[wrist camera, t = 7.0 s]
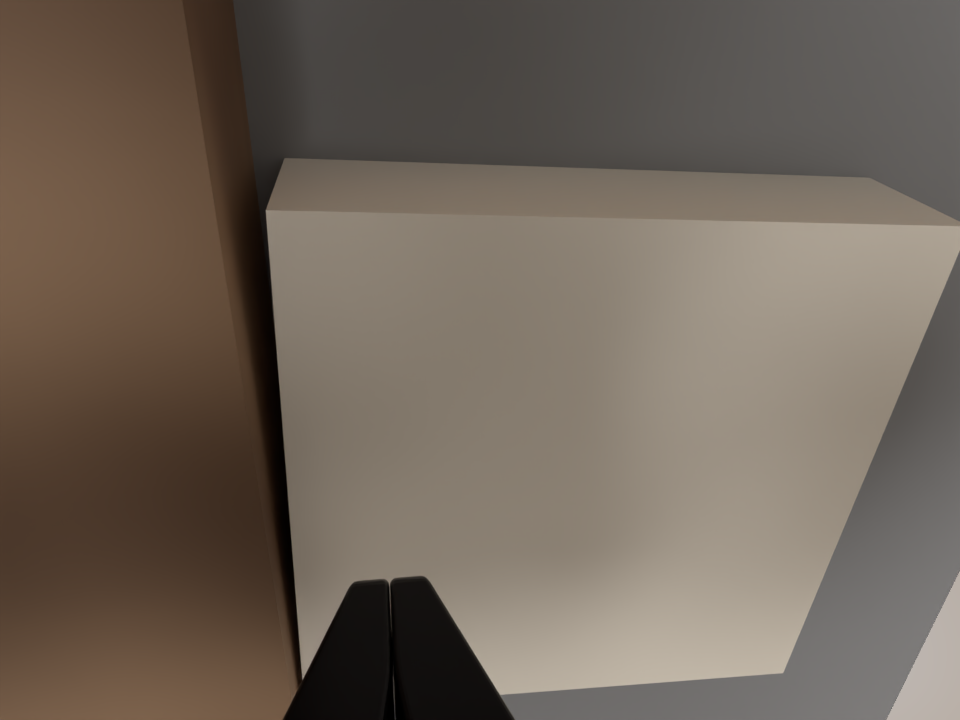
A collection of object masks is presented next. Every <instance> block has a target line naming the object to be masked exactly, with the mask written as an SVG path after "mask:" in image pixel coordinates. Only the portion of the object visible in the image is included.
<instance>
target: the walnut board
mask: <svg viewBox="0 0 960 720" xmlns="http://www.w3.org/2000/svg"><path fill="white" fill-rule="evenodd" d="M301 682H302V669H301V657H300V644H299V631H298V618H297V605H296V592H295V579H294V567H293V554H292V541H291V528H290V515H289V502H288V490H287V477H286V464H285V451H284V438H283V425H282V412H281V400H280V387H279V374H278V361H277V348H276V340H275V332H274V324H273V316H272V308H271V300H270V292H269V284H268V276H267V268H266V260H265V252H264V244H263V236H262V228H261V220H260V212H259V204H258V196H257V188H256V180H255V172H254V164H253V156H252V148H251V140H250V132H249V124H248V116H247V108H246V100H245V92H244V84H243V76H242V68H241V60H240V52H239V44H238V36H237V28H236V20H235V12H234V4H233V0H0V720H283V718H284V716H285V714H286V712H287V710H288V708H289V706H290V704H291V702H292V700H293V698H294V696H295V694H296V692H297V690H298V688H299V686H300V684H301Z"/></svg>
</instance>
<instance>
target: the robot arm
mask: <svg viewBox="0 0 960 720" xmlns="http://www.w3.org/2000/svg"><path fill="white" fill-rule="evenodd" d="M390 604H391V610H390ZM391 631H392V632H391ZM393 680H394V681H393ZM394 702H395V706H394ZM283 720H515V718H514V717H513V715H512V713H511V712H510V710H509V708H508V707H507V705H506V704H505V702H504V700H503V699H502V697H501V695H500V694H499V692H498V691H497V689H496V687H495V686H494V684H493V683H492V681H491V679H490V678H489V676H488V674H487V673H486V671H485V670H484V668H483V666H482V665H481V663H480V662H479V660H478V658H477V657H476V655H475V653H474V652H473V650H472V649H471V647H470V645H469V644H468V642H467V641H466V639H465V637H464V636H463V634H462V632H461V631H460V629H459V628H458V626H457V624H456V623H455V621H454V619H453V618H452V616H451V615H450V613H449V611H448V610H447V608H446V607H445V605H444V603H443V602H442V600H441V598H440V597H439V595H438V594H437V592H436V590H435V589H434V587H433V586H432V584H431V582H430V581H429V580H428V579H427V578H426V577H424V576H411V577H398V578H394V579H393V580H391V582H390V588H389V583H388V581H387V580H385V579H373V580H361V581H355V582H353V583H352V584H351V585H350V587H349V588H348V590H347V592H346V594H345V596H344V598H343V600H342V602H341V604H340V606H339V608H338V610H337V612H336V614H335V616H334V618H333V620H332V622H331V624H330V626H329V628H328V630H327V632H326V634H325V636H324V638H323V640H322V642H321V644H320V646H319V648H318V650H317V652H316V654H315V656H314V658H313V660H312V662H311V664H310V666H309V668H308V670H307V672H306V674H305V676H304V678H303V680H302V682H301V684H300V686H299V688H298V690H297V692H296V694H295V696H294V698H293V700H292V702H291V704H290V706H289V708H288V710H287V712H286V714H285V716H284V718H283Z"/></svg>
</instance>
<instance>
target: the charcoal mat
mask: <svg viewBox="0 0 960 720" xmlns="http://www.w3.org/2000/svg"><path fill="white" fill-rule="evenodd" d="M233 4H234V12H235V20H236V28H237V36H238V44H239V52H240V60H241V68H242V76H243V84H244V92H245V100H246V108H247V116H248V124H249V132H250V140H251V148H252V156H253V164H254V172H255V180H256V188H257V196H258V204H259V212H260V220H261V228H262V236H263V244H264V252H265V260H266V268H267V276H268V284H269V292H270V300H271V308H272V316H273V324H274V332H275V322H274V310H273V297H272V284H271V271H270V258H269V245H268V232H267V220H266V208H267V205H268V203H269V200H270V197H271V194H272V191H273V189H274V186H275V183H276V180H277V178H278V175H279V172H280V169H281V166H282V164H283V161H284V158H300V159H329V160H359V161H389V162H418V163H448V164H478V165H507V166H537V167H567V168H597V169H626V170H656V171H686V172H715V173H745V174H775V175H805V176H834V177H864V178H871V179H873V180H875V181H877V182H879V183H881V184H883V185H886V186H888V187H890V188H892V189H894V190H896V191H898V192H900V193H902V194H904V195H906V196H908V197H910V198H912V199H914V200H916V201H918V202H920V203H923V204H925V205H927V206H929V207H931V208H933V209H935V210H937V211H939V212H941V213H943V214H945V215H947V216H949V217H951V218H953V219H955V220H957V221H960V0H233ZM275 340H276V335H275ZM959 571H960V251H959V253H958V256H957V258H956V261H955V263H954V265H953V268H952V270H951V273H950V275H949V277H948V280H947V282H946V285H945V287H944V289H943V292H942V294H941V297H940V299H939V301H938V304H937V306H936V309H935V311H934V313H933V316H932V318H931V320H930V323H929V325H928V328H927V330H926V332H925V335H924V337H923V340H922V342H921V344H920V347H919V349H918V352H917V354H916V356H915V359H914V361H913V364H912V366H911V368H910V371H909V373H908V376H907V378H906V380H905V383H904V385H903V387H902V390H901V392H900V395H899V397H898V399H897V402H896V404H895V407H894V409H893V411H892V414H891V416H890V419H889V421H888V423H887V426H886V428H885V431H884V433H883V435H882V438H881V440H880V443H879V445H878V447H877V450H876V452H875V455H874V457H873V459H872V462H871V464H870V466H869V469H868V471H867V474H866V476H865V478H864V481H863V483H862V486H861V488H860V490H859V493H858V495H857V498H856V500H855V502H854V505H853V507H852V510H851V512H850V514H849V517H848V519H847V522H846V524H845V526H844V529H843V531H842V533H841V536H840V538H839V541H838V543H837V545H836V548H835V550H834V553H833V555H832V557H831V560H830V562H829V565H828V567H827V569H826V572H825V574H824V577H823V579H822V581H821V584H820V586H819V589H818V591H817V593H816V596H815V598H814V601H813V603H812V605H811V608H810V610H809V612H808V615H807V617H806V620H805V622H804V624H803V627H802V629H801V632H800V634H799V636H798V639H797V641H796V644H795V646H794V648H793V651H792V653H791V656H790V658H789V660H788V663H787V665H786V668H785V670H784V672H783V673H779V674H766V675H753V676H740V677H727V678H714V679H701V680H688V681H675V682H662V683H649V684H636V685H623V686H610V687H597V688H584V689H571V690H558V691H544V692H531V693H518V694H505V695H501V697H502V699H503V700H504V702H505V704H506V705H507V707H508V708H509V710H510V712H511V713H512V715H513V717H514V718H515V720H886V719H887V717H888V715H889V713H890V711H891V709H892V707H893V704H894V703H895V701H896V699H897V697H898V695H899V692H900V691H901V689H902V687H903V685H904V683H905V681H906V679H907V676H908V674H909V672H910V670H911V668H912V666H913V664H914V662H915V660H916V658H917V656H918V654H919V652H920V650H921V648H922V646H923V644H924V642H925V640H926V638H927V636H928V634H929V632H930V630H931V628H932V626H933V624H934V622H935V620H936V618H937V616H938V614H939V612H940V610H941V608H942V606H943V604H944V602H945V599H946V597H947V596H948V594H949V591H950V589H951V588H952V585H953V583H954V581H955V579H956V577H957V575H958V573H959ZM394 706H395V703H394Z"/></svg>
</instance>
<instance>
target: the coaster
mask: <svg viewBox="0 0 960 720" xmlns="http://www.w3.org/2000/svg"><path fill="white" fill-rule="evenodd" d="M266 220H267V232H268V245H269V258H270V271H271V284H272V297H273V310H274V322H275V335H276V348H277V361H278V374H279V387H280V400H281V412H282V425H283V438H284V451H285V464H286V477H287V490H288V502H289V515H290V528H291V541H292V554H293V567H294V579H295V592H296V605H297V618H298V631H299V644H300V657H301V669H302V680H303V678H304V676H305V674H306V672H307V670H308V668H309V666H310V664H311V662H312V660H313V658H314V656H315V654H316V652H317V650H318V648H319V646H320V644H321V642H322V640H323V638H324V636H325V634H326V632H327V630H328V628H329V626H330V624H331V622H332V620H333V618H334V616H335V614H336V612H337V610H338V608H339V606H340V604H341V602H342V600H343V598H344V596H345V594H346V592H347V590H348V588H349V587H350V585H351V584H352V583H353V582H355V581H361V580H373V579H385V580H387V581H388V583H389V588H390V582H391V580H393V579H394V578H398V577H411V576H424V577H426V578H427V579H428V580H429V581H430V582H431V584H432V586H433V587H434V589H435V590H436V592H437V594H438V595H439V597H440V598H441V600H442V602H443V603H444V605H445V607H446V608H447V610H448V611H449V613H450V615H451V616H452V618H453V619H454V621H455V623H456V624H457V626H458V628H459V629H460V631H461V632H462V634H463V636H464V637H465V639H466V641H467V642H468V644H469V645H470V647H471V649H472V650H473V652H474V653H475V655H476V657H477V658H478V660H479V662H480V663H481V665H482V666H483V668H484V670H485V671H486V673H487V674H488V676H489V678H490V679H491V681H492V683H493V684H494V686H495V687H496V689H497V691H498V692H499V694H500V695H505V694H518V693H531V692H544V691H558V690H571V689H584V688H597V687H610V686H623V685H636V684H649V683H662V682H675V681H688V680H701V679H714V678H727V677H740V676H753V675H766V674H779V673H783V672H784V670H785V668H786V665H787V663H788V660H789V658H790V656H791V653H792V651H793V648H794V646H795V644H796V641H797V639H798V636H799V634H800V632H801V629H802V627H803V624H804V622H805V620H806V617H807V615H808V612H809V610H810V608H811V605H812V603H813V601H814V598H815V596H816V593H817V591H818V589H819V586H820V584H821V581H822V579H823V577H824V574H825V572H826V569H827V567H828V565H829V562H830V560H831V557H832V555H833V553H834V550H835V548H836V545H837V543H838V541H839V538H840V536H841V533H842V531H843V529H844V526H845V524H846V522H847V519H848V517H849V514H850V512H851V510H852V507H853V505H854V502H855V500H856V498H857V495H858V493H859V490H860V488H861V486H862V483H863V481H864V478H865V476H866V474H867V471H868V469H869V466H870V464H871V462H872V459H873V457H874V455H875V452H876V450H877V447H878V445H879V443H880V440H881V438H882V435H883V433H884V431H885V428H886V426H887V423H888V421H889V419H890V416H891V414H892V411H893V409H894V407H895V404H896V402H897V399H898V397H899V395H900V392H901V390H902V387H903V385H904V383H905V380H906V378H907V376H908V373H909V371H910V368H911V366H912V364H913V361H914V359H915V356H916V354H917V352H918V349H919V347H920V344H921V342H922V340H923V337H924V335H925V332H926V330H927V328H928V325H929V323H930V320H931V318H932V316H933V313H934V311H935V309H936V306H937V304H938V301H939V299H940V297H941V294H942V292H943V289H944V287H945V285H946V282H947V280H948V277H949V275H950V273H951V270H952V268H953V265H954V263H955V261H956V258H957V256H958V253H959V251H960V221H957V220H955V219H953V218H951V217H949V216H947V215H945V214H943V213H941V212H939V211H937V210H935V209H933V208H931V207H929V206H927V205H925V204H923V203H920V202H918V201H916V200H914V199H912V198H910V197H908V196H906V195H904V194H902V193H900V192H898V191H896V190H894V189H892V188H890V187H888V186H886V185H883V184H881V183H879V182H877V181H875V180H873V179H871V178H864V177H834V176H805V175H775V174H745V173H715V172H686V171H656V170H626V169H597V168H567V167H537V166H507V165H478V164H448V163H418V162H389V161H359V160H329V159H300V158H284V161H283V164H282V166H281V169H280V172H279V175H278V178H277V180H276V183H275V186H274V189H273V191H272V194H271V197H270V200H269V203H268V205H267V208H266ZM390 610H391V604H390ZM391 632H392V631H391ZM393 681H394V680H393ZM394 703H395V702H394Z"/></svg>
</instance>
